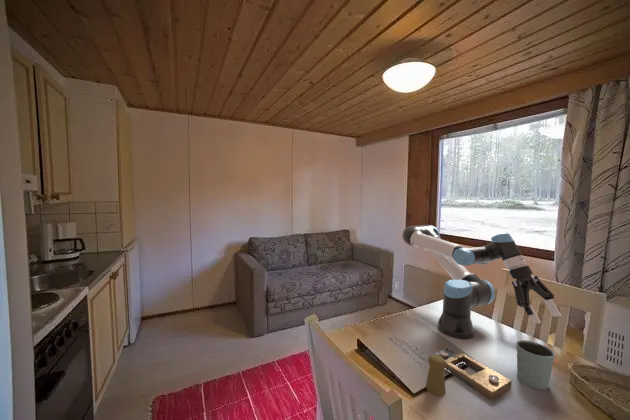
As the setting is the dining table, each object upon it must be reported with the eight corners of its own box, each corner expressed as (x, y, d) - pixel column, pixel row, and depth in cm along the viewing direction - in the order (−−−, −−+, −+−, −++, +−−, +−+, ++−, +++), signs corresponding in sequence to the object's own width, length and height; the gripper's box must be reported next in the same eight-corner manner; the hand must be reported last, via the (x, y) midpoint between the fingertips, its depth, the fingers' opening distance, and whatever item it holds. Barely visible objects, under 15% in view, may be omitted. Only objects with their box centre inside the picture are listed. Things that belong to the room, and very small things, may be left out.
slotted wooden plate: (428, 359, 103) (429, 349, 102) (447, 351, 108) (447, 342, 108) (492, 401, 82) (492, 388, 82) (510, 389, 88) (511, 377, 87)
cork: (437, 398, 83) (439, 365, 82) (421, 386, 88) (423, 354, 88) (449, 392, 86) (451, 359, 85) (433, 380, 91) (435, 349, 91)
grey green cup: (510, 378, 93) (512, 346, 92) (519, 367, 99) (521, 336, 98) (548, 396, 85) (550, 360, 84) (555, 383, 91) (557, 349, 90)
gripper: (507, 268, 105) (538, 325, 96) (544, 261, 114) (575, 312, 105) (490, 274, 111) (518, 327, 102) (527, 266, 120) (555, 314, 111)
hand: (547, 319), depth 103 cm, fingers open, 13 cm apart
